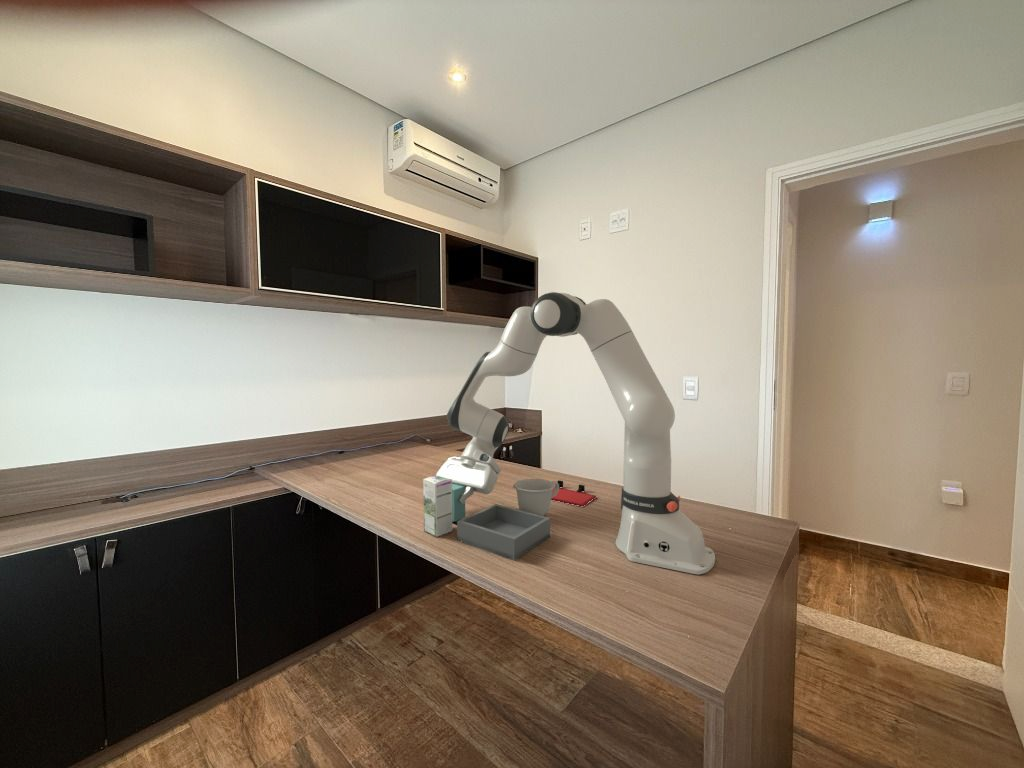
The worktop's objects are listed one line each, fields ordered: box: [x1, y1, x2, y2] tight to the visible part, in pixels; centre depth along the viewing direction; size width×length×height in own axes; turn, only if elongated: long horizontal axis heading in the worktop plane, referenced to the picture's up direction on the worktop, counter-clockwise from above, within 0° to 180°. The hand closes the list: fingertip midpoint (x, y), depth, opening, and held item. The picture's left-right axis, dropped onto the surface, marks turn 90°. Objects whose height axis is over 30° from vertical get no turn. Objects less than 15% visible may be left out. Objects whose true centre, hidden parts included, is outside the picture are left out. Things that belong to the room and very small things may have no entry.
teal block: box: [452, 484, 466, 522], centre depth 116 cm, size 4×4×9 cm
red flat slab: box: [512, 480, 597, 507], centre depth 142 cm, size 30×3×15 cm
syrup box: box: [422, 475, 453, 538], centre depth 108 cm, size 6×6×14 cm
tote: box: [456, 503, 551, 561], centre depth 104 cm, size 18×16×5 cm
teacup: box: [513, 478, 559, 517], centre depth 119 cm, size 12×15×10 cm
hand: (452, 500), depth 115 cm, fingers closed on teal block, 4 cm apart
